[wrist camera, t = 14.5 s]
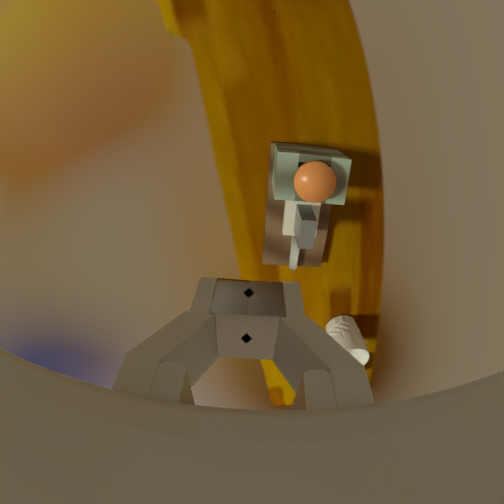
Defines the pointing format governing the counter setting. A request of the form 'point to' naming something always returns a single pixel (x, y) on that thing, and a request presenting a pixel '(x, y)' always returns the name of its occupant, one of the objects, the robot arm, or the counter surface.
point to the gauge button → (314, 181)
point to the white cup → (348, 337)
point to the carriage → (301, 222)
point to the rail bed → (282, 188)
